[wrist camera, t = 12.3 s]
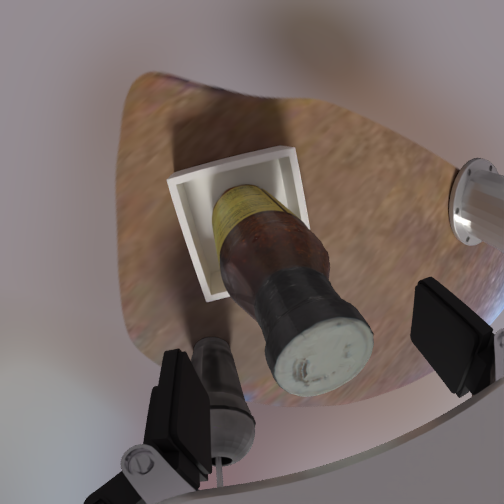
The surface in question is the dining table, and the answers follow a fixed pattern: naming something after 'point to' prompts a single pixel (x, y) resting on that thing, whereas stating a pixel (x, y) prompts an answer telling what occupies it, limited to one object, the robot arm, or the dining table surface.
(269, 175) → the box
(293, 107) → the dining table surface
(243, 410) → the beverage cup
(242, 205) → the sauce bottle
